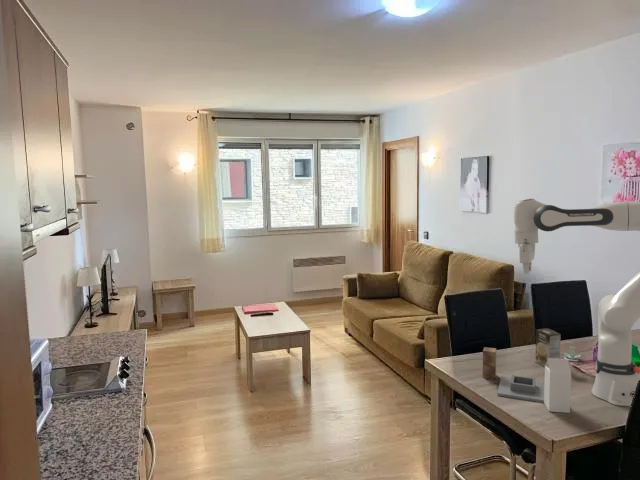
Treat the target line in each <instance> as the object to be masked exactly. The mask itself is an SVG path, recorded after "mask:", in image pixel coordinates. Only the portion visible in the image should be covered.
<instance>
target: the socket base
mask: <svg viewBox="0 0 640 480" xmlns="http://www.w3.org/2000/svg"><path fill="white" fill-rule="evenodd" d="M544 383H545V381H544V382H543V381H539V380H536V378H535V377H528V376H523V375H516V374H515V375H514V374H513V375H511V377H509V376H501V377H500V381H499V385H498V388H497V389H498V390H497V396H499V397H505V398H511V399H518V400H519V399H520V400H524V401H530V402H537V403H544Z"/></svg>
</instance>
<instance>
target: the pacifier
mask: <svg viewBox="0 0 640 480" xmlns="http://www.w3.org/2000/svg"><path fill="white" fill-rule="evenodd" d="M568 351H569V353H568V352H563V355H564V357H563V359H568V360H569V361H570V362H579V358H581V355H576V354H575V353H576V352H577V348H576V347H575V346H573V345H572V346H571V345H570V346H569V348H568Z"/></svg>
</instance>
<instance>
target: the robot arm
mask: <svg viewBox="0 0 640 480" xmlns="http://www.w3.org/2000/svg"><path fill="white" fill-rule="evenodd" d="M513 223H514V243H515V244H518V245H517V247H518V248H519V251H518V252H519V263H520V264H522V268H523V274H525V275H529V273H530V272H531V271H532V262H533V261H534V259H535V251H536V244H538V243H539V230H540V231H543V232H553V231H556V230H559V229H560V228H563V227H576V226H577V227H581V226H583V227H586V226H587V227H588V226H589V227H597V228H600V229H603V230H604V229H605V230H610V231H616V232H617V231H619V232H628V231H631V232H632V231H635V232H637V231H638V232H640V201H637V200H635V201H631V200H630V201H617V202H611V203H606V204H605V203H604V204H603V205H600V206H597V207H593V208H579V209H578V208H577V209H576V208H575V209H568V208H566V209H565V208H560V207H559V206H555V205H551V204H546V203H542V202H540V201H538V200H536V199H534V198H527V199H523V200H519V201H518V202H516V203H515V205H514V210H513ZM597 314H598V316H597V318H598V319H597V320H598V321H597V324H598V326H597V331H598V332H597V333H598V334H597V335H598V338H597V339H598V340H597V341H598V342H597V345H598V346H597V357H596V359H595V372H596V373H595V379H594V383H593V386H592V388H591V393H592V394H593V395H594V396H595V397H597V398H598V399H600V400H601V399H602V400H604V401H606V402H608V403H609V404H612V405H614V406H622V407H624V406H625V407H631V406H630V404H631V401H632V398H633V395H634V392H635V388H636V386H637V383H638V381H639V380H640V374H639V373H640V367H638V365H637V364H636V363H635V362H634V361H632V348H633V341H632V340H633V339H632V327H634V325H635V323H636V322H637V321H638V320H639V319H640V271H639V272H637V273H636V274H635V275H633V276H632V277H631V278H630V279H629V280H628V281H627V282H626V283H625V284H624V286H623V287H622V288H621V289H620V290H619V291H618V292H617V293H616V294H615V293H611V294H607V295H605V296H604V297H602V298H601V300H600V301H599V303H598V311H597Z"/></svg>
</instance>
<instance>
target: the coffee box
mask: <svg viewBox="0 0 640 480" xmlns="http://www.w3.org/2000/svg"><path fill="white" fill-rule="evenodd" d="M535 333H536V334H535V358H534V359H535V360H534V361H535V363H536V364H538V365H540V366H542V367H543V368H545V365H546V363H547V361H548V358H549V359H561V340H562V339H561V338H562V337H561V335H562V334H561V333H559V332H557V331H555V330H553V329H550V328H548V327H545V328H539V329H536V331H535Z"/></svg>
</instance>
